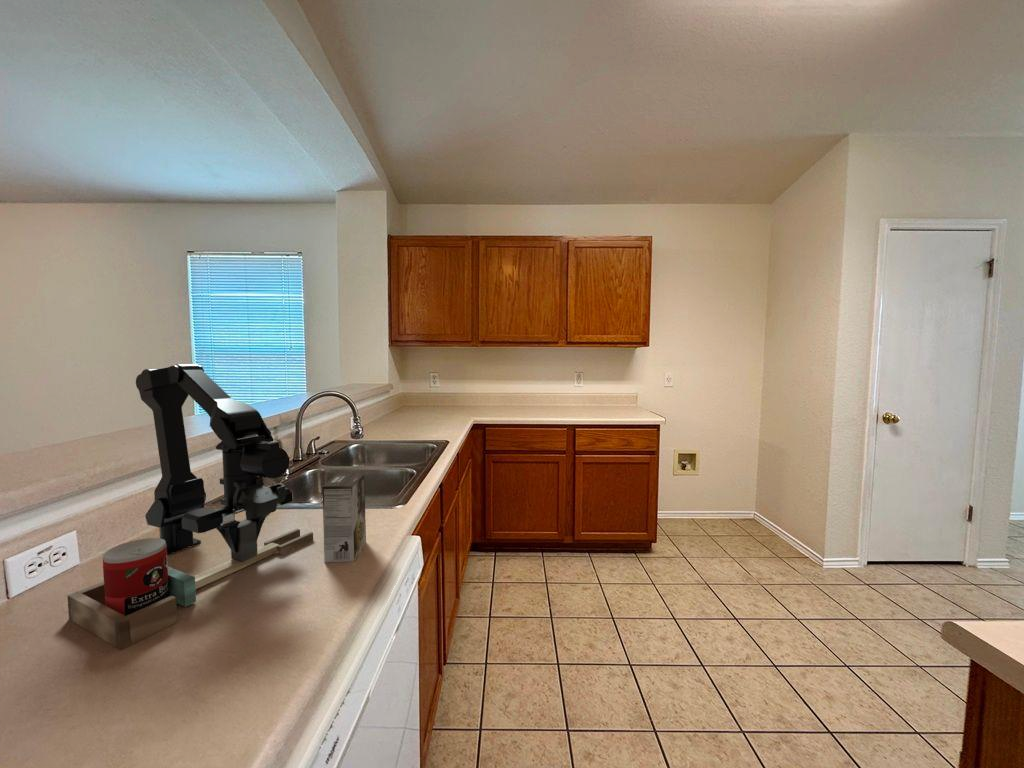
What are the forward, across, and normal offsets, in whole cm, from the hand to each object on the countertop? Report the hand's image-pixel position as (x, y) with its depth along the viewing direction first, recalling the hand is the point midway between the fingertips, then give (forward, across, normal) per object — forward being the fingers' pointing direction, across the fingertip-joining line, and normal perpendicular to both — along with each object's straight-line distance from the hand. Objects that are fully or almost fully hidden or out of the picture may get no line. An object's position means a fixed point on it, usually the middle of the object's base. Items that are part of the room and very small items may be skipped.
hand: (244, 548), depth 83 cm
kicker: (+3, -3, 0) cm, 5 cm away
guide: (+4, +10, 0) cm, 11 cm away
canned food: (+4, -17, 0) cm, 17 cm away
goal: (+3, -19, 0) cm, 20 cm away
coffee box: (+4, +13, -14) cm, 19 cm away
